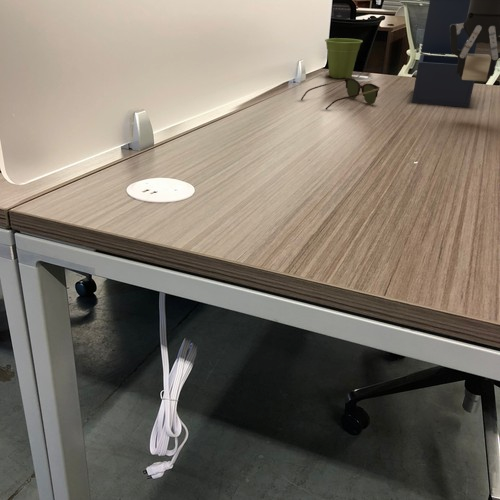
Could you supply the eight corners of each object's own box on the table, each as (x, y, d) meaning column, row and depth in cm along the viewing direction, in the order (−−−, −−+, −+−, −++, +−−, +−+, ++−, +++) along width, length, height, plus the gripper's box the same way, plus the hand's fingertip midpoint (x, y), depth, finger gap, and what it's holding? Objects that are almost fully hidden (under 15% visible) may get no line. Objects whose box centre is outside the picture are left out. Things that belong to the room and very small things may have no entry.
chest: (468, 107, 128) (478, 66, 123) (411, 102, 132) (418, 62, 127) (465, 95, 143) (473, 57, 138) (414, 90, 147) (420, 54, 142)
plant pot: (321, 73, 171) (324, 37, 165) (356, 75, 170) (360, 38, 164) (322, 79, 160) (325, 41, 155) (359, 81, 159) (364, 42, 154)
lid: (491, -22, 128) (489, -23, 133) (433, -24, 132) (434, -25, 137) (473, 56, 138) (472, 52, 143) (420, 52, 142) (421, 49, 146)
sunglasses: (378, 106, 126) (380, 85, 124) (328, 116, 121) (329, 94, 118) (344, 95, 138) (345, 76, 135) (297, 103, 132) (297, 84, 130)
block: (484, 77, 111) (489, 54, 108) (486, 81, 106) (491, 57, 104) (461, 76, 112) (465, 53, 110) (461, 79, 108) (466, 55, 106)
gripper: (455, -13, 100) (438, 77, 108) (535, -11, 96) (511, 82, 104) (454, -13, 106) (438, 72, 114) (529, -11, 102) (507, 76, 110)
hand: (473, 76), depth 109 cm, fingers closed on block, 4 cm apart
